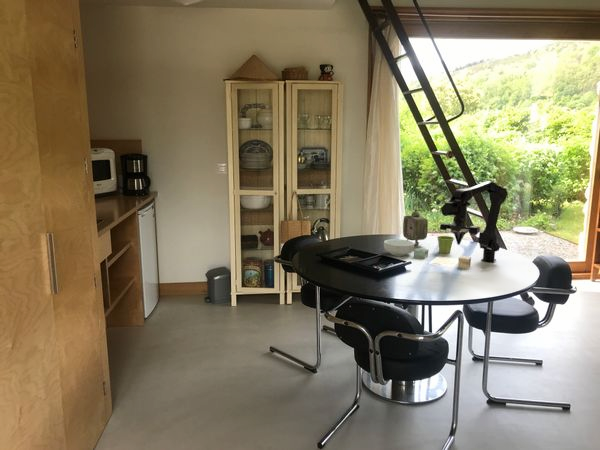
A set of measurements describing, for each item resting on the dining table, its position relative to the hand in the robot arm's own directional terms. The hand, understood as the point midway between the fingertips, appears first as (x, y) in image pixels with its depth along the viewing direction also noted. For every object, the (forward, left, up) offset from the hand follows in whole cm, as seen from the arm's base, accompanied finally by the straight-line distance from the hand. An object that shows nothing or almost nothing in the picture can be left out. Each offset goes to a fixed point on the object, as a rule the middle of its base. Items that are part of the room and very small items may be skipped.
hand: (458, 244), depth 247 cm
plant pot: (-24, -13, -11) cm, 30 cm away
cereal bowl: (-5, -34, -11) cm, 36 cm away
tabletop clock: (-34, -34, -11) cm, 50 cm away
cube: (+2, +4, -11) cm, 12 cm away
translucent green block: (-6, -21, -11) cm, 25 cm away
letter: (-3, -7, -11) cm, 13 cm away
